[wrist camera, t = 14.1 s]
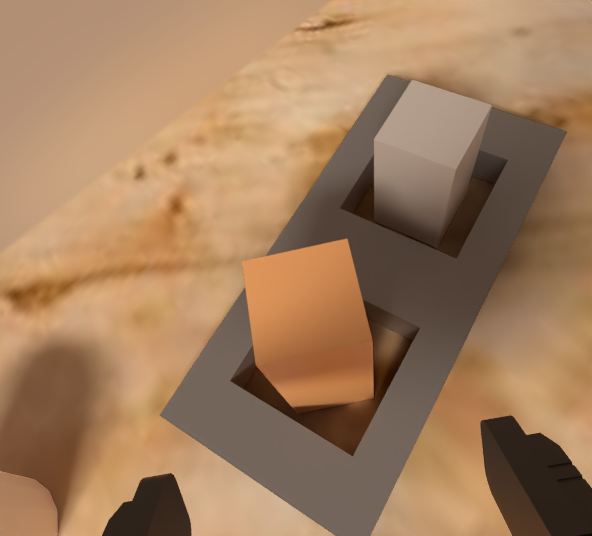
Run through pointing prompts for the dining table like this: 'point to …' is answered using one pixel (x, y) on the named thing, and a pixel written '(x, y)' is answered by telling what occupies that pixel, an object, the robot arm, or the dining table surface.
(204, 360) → the grey block holder
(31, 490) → the shot glass
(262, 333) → the plug
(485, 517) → the dining table surface
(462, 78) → the dining table surface
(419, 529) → the dining table surface
